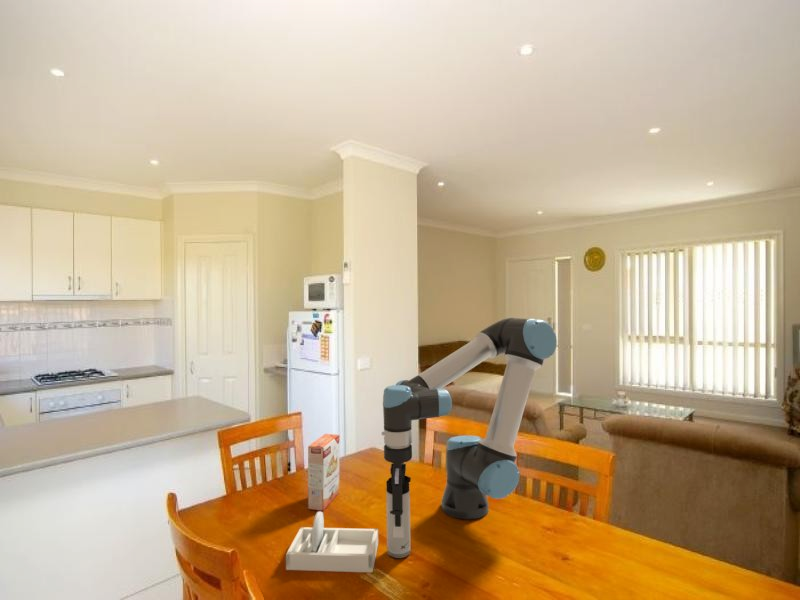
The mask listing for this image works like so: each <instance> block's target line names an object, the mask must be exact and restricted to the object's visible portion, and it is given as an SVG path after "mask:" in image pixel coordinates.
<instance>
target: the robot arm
mask: <svg viewBox="0 0 800 600" xmlns="http://www.w3.org/2000/svg"><path fill="white" fill-rule="evenodd" d="M557 344H558V342H557V335H556V333H555V331H554V328H553V326H552V325H551V324H550V323H549V322H547V321H545V320H542V319H537V318H516V317H508V318H504V319H501V320H498V321H497V322H495V323H493V324H491V325H489V326H487V327H486V328H484V329H483V330H481V331H479V332H478V333H476V334H475V337H474V339H473V340H471V341H469V342H467V344H464V345H463V346H462V347H459V348H458V349H457V350H455V351H454V352H452V353H450V354H449V355H447V356H446V357H444V358H442V359H441V360H439V361H438V362H436V363H435V364H433V365H432V366H430V367H428V368H427V369H425V370H424V371H422V372H420V373H419V374H418V375H416V376H415V377H412V378H411V379H409V380H408V379H404V380H402V379H401V380H398V382H396V383H395V385H394V384H393V385H389V386H386V387H385V388H384V390H383V396H382V399H383V400H382V410H383V411H382V413H383V415H382V416H383V431H382V432H381V435H382V436H383V442H384V443H383V444H384V446H383V458H384V460H385V461H386V462H387V463H391V465H390V466H391V467H390V475H391V476H390V478H391V484H392V511H390V514H393V538H404V526H403V493H402V492H403V491H402V486H403V485H404V478H405V476H406V470H407V466H406V465H407V464H406V463H407V462H409V461H411V460H412V458H413V445H412V443H413V436H412V435H413V429H412V428H413V427H412V425H413V424H412V423H413V421H418V420H423V419H424V420H426V419H431V418H440V417H445V416H447V415H449V414H450V413H451V411H452V408H453V406H452V404H453V400H452V397H451V394H450V392H449V391H448V390H447V389H445V388H444V387H446V386H448V385H449V384H450V383H452V382H453V381H455V380H457V379H458V378H460V377H462V376H463V375H464V374H466V373H468V372H469V371H470V370H472V369H474V368H475V367H476V366H478V365H480V364H481V363H483V362H484V361H486V360H487V359H488V358H489V359H495V358H496V357H497V356H500V355H504V357H505V360H506V367H505V370H504V373H503V377H502V380H501V384H500V386H499V388H498V389H499V390H498V393H497V396H496V399H495V404H494V407H493V411H492V414H491V418H490V420H489V424H488V427H487V431H486V434H485V437H484V438H482V437H480V436H478V435H470V434H469V435H456V436H452V437H449V439H447V441H446V448H445V452H446V484H445V489H444V492H443V495H442V497H441V510H442V512H444V513H445V514H446V515H448V516H450V517H452V518H455V519H460V520H476V519H480V518H483V517H485V516H486V515H487V514H488V513H489V501H488V500H489V499H488V497H490V498H491V499H493V500H494V499H496V500H501V499H505V498H507V496H509V495H511V494H512V493H513V492H514V491H515V490H516V488H517V486H518V484H519V481H520V471H519V468H518V466H517V464H516V463H515V462H516V460H517V453H516V451H515V449H514V448H515V447H514V446H515V443H516V440H517V437H518V433H519V429H520V426H521V422H522V418H523V415H524V412H525V408H526V404H527V400H528V397H529V396H530V395H529V394H530V390H531V387H532V383H533V381H534V376H535V373H536V371H537V370H539V369H541V368H542V367H543V364H544V361H545V360H546V359H549V358H551V356H553V355H554V354H555V351H556V349H557ZM487 496H488V497H487Z"/></svg>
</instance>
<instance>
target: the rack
mask: <svg viewBox="0 0 800 600" xmlns="http://www.w3.org/2000/svg"><path fill="white" fill-rule="evenodd" d="M324 521H325V519H324V513H323V511H317V512H316V513H315V516H314V518H313V523H312V524H313V525H312V527H307V526H301V527H300V528H299V530H298V531H297V533H296V535H295V537H294V538H293V541H292V542H291V544H290V546H289V547H288V550H287V552H286V554H285V570H286V571H311V572H312V571H315V572H321V571H322V572H345V573H373V571H374V566H375V561H376V557H377V552H378V551H377V550H378V545H379V529H378V528H353V527H352V528H351V527H350V528H349V527H347V528H345V527H325V522H324Z"/></svg>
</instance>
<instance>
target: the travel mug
mask: <svg viewBox="0 0 800 600" xmlns="http://www.w3.org/2000/svg"><path fill="white" fill-rule="evenodd" d="M411 480H412V479H411V477H410V476H408V475H405V478H404V485H403V486H402V491H403V492H402V493H403V526H404V538H393V514H390V511H392V484H391V477H389V478H388V479H387V480H386V482H385V483H386V493H385V494H386V497H385V498H386V546H387V547H386V548H387V551H386V552H387V554H388V555H389V556H390V557H392V558H395V559H402V558H406V557H407V556H410V553H411V552H412V551H411V503H410V502H411V498H410V497H411V493H410V491H411V489H410V482H412V481H411Z"/></svg>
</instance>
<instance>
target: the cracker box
mask: <svg viewBox="0 0 800 600" xmlns="http://www.w3.org/2000/svg"><path fill="white" fill-rule="evenodd" d="M307 454H308V456H307V465H308V466H307V510H313V511H319V512H323V511H325V510H326V508H327V507H328V506H329V505H330V504H331V502H333V500H334V499H335V498H336V497H337V496H338V495H339V494H340V434H336V433H335V434H334V433H324V434H323V435H322V436H320V437H319V438H318V439H316V440H315V441H314V442H313V441H312V443H310V444H309V445H308V446H307Z"/></svg>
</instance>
